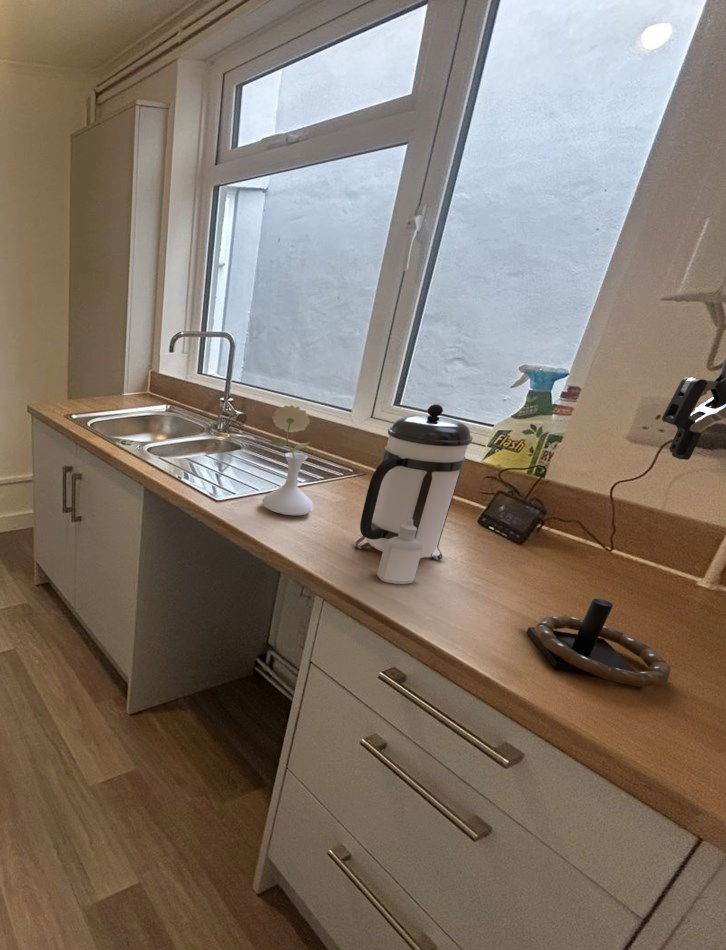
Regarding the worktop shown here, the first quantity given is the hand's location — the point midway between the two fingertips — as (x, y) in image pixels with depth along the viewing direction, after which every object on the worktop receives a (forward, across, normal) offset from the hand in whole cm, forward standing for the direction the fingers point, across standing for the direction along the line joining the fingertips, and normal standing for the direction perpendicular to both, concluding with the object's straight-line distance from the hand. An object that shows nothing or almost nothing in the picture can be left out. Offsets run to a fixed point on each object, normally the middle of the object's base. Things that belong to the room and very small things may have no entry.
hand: (723, 461), depth 68 cm
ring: (+26, -8, -8) cm, 29 cm away
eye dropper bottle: (+28, -30, +8) cm, 42 cm away
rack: (+28, -10, -8) cm, 31 cm away
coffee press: (+28, -28, +19) cm, 44 cm away
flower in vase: (+28, -48, +37) cm, 67 cm away
